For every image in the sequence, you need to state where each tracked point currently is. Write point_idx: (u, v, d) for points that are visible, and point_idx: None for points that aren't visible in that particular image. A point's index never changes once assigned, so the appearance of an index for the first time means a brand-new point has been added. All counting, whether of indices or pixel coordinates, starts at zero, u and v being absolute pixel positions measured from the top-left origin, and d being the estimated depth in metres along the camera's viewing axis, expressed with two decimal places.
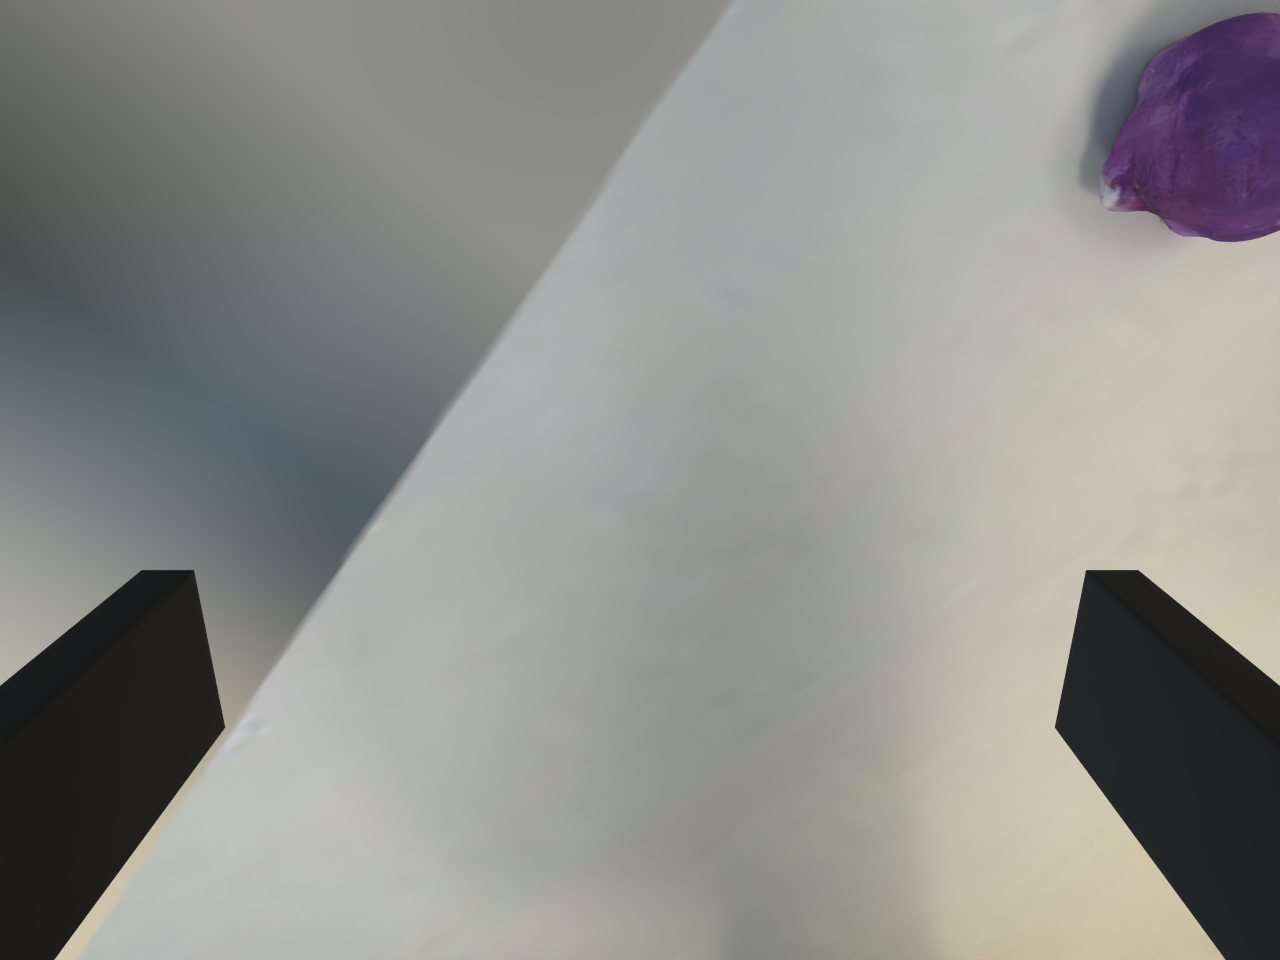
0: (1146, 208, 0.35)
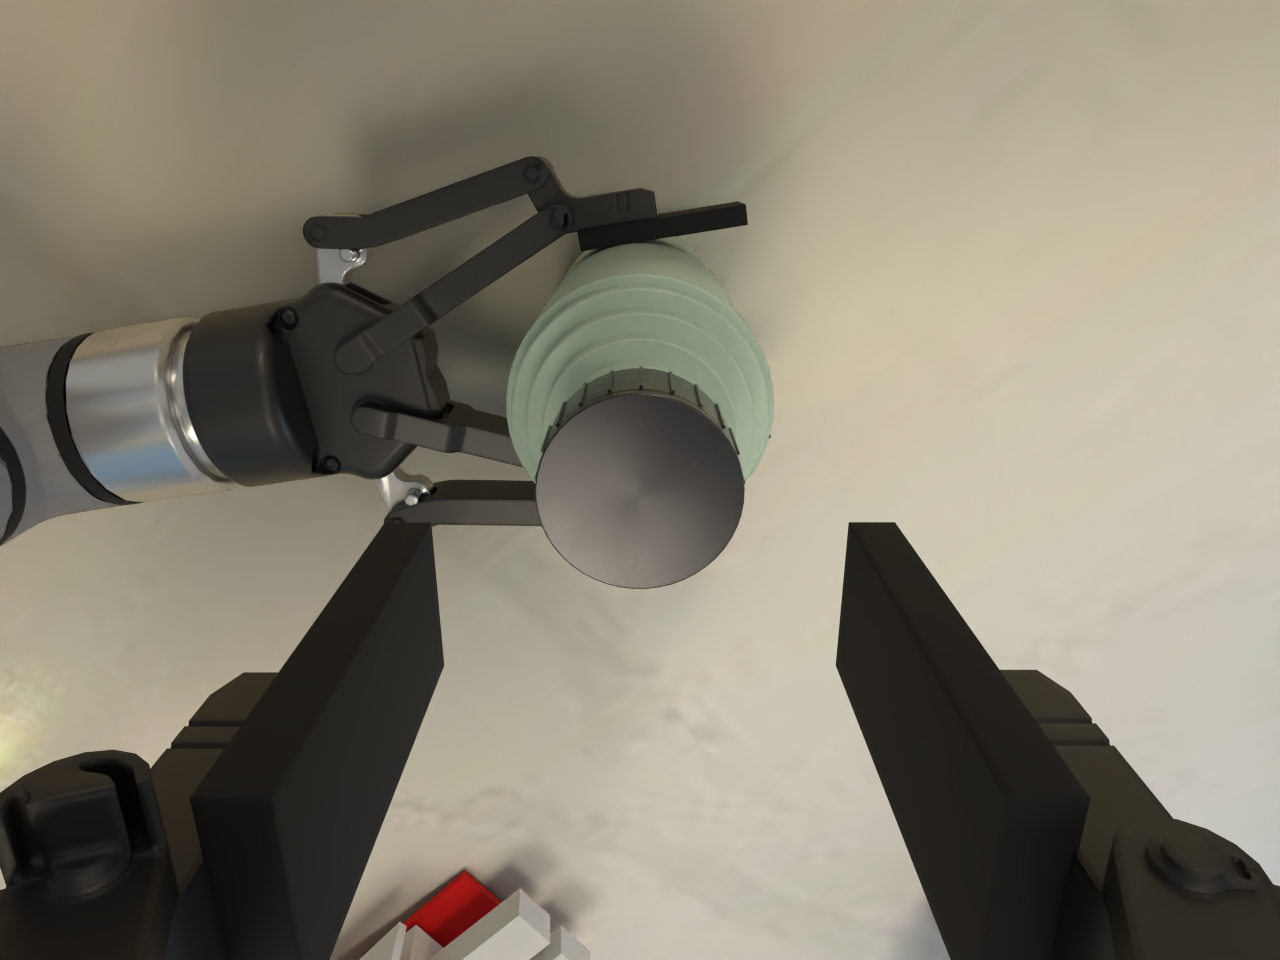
0: None
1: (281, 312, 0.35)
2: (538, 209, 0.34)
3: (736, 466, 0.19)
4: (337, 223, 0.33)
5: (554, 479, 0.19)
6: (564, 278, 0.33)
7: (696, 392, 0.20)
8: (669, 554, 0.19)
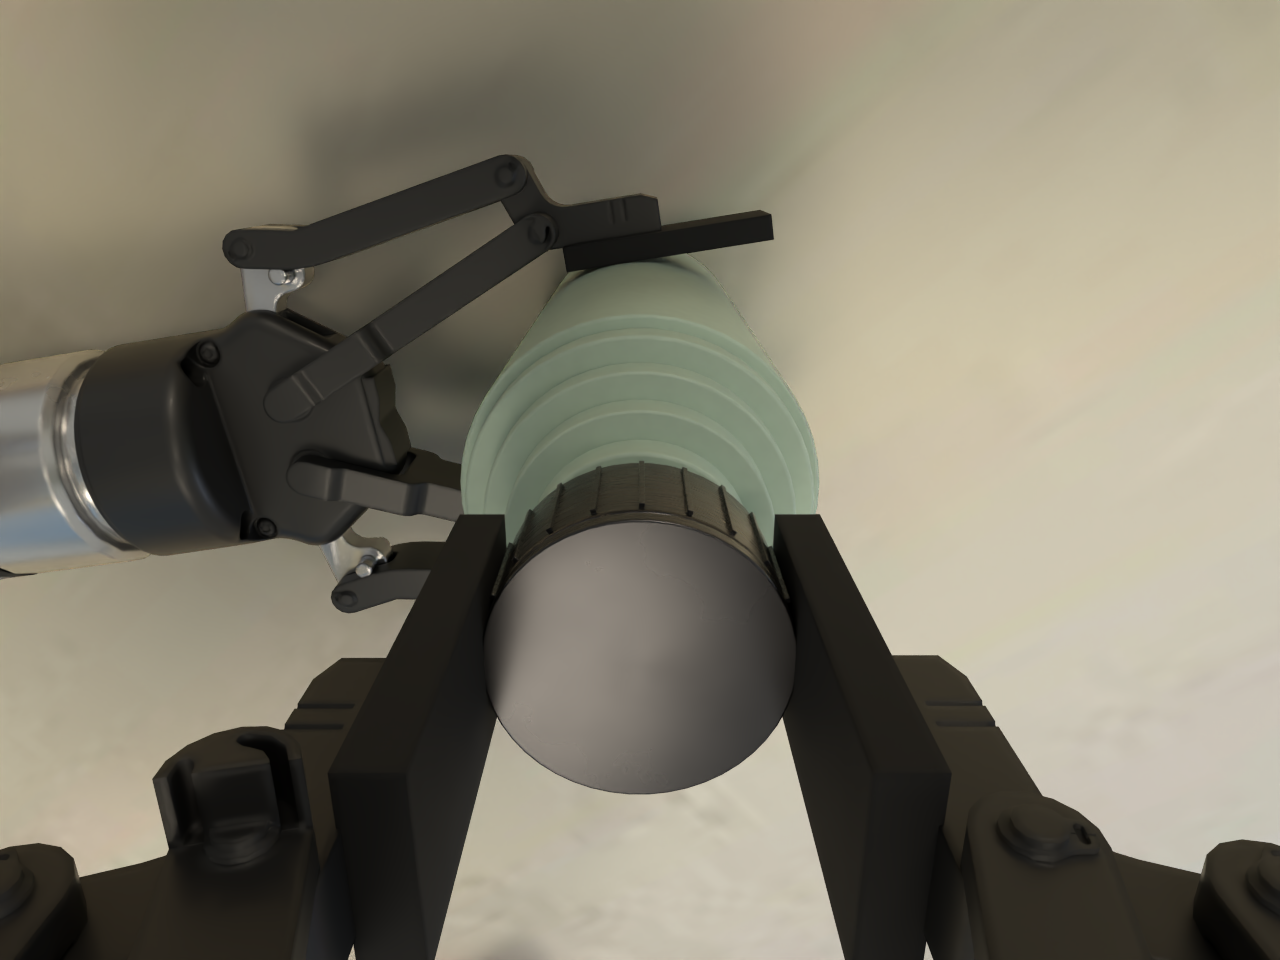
0: None
1: (199, 345, 0.28)
2: (514, 220, 0.27)
3: (786, 625, 0.12)
4: (265, 237, 0.27)
5: (509, 643, 0.12)
6: (546, 306, 0.27)
7: (723, 503, 0.13)
8: (684, 748, 0.13)
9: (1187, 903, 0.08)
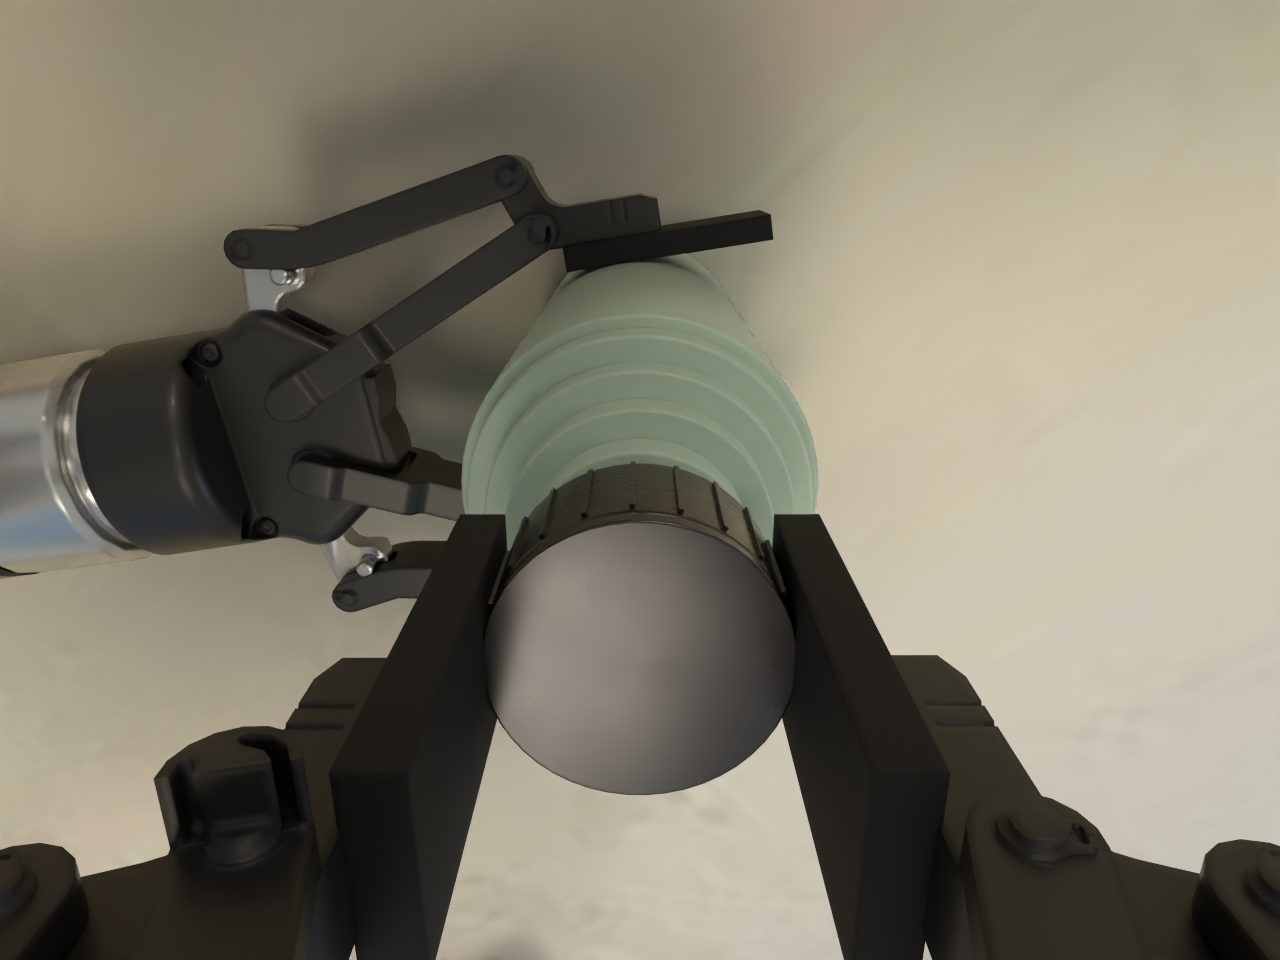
0: None
1: (201, 346, 0.28)
2: (514, 220, 0.27)
3: (592, 533, 0.12)
4: (266, 238, 0.27)
5: (612, 772, 0.13)
6: (546, 305, 0.27)
7: None
8: (740, 628, 0.12)
9: (1186, 903, 0.08)
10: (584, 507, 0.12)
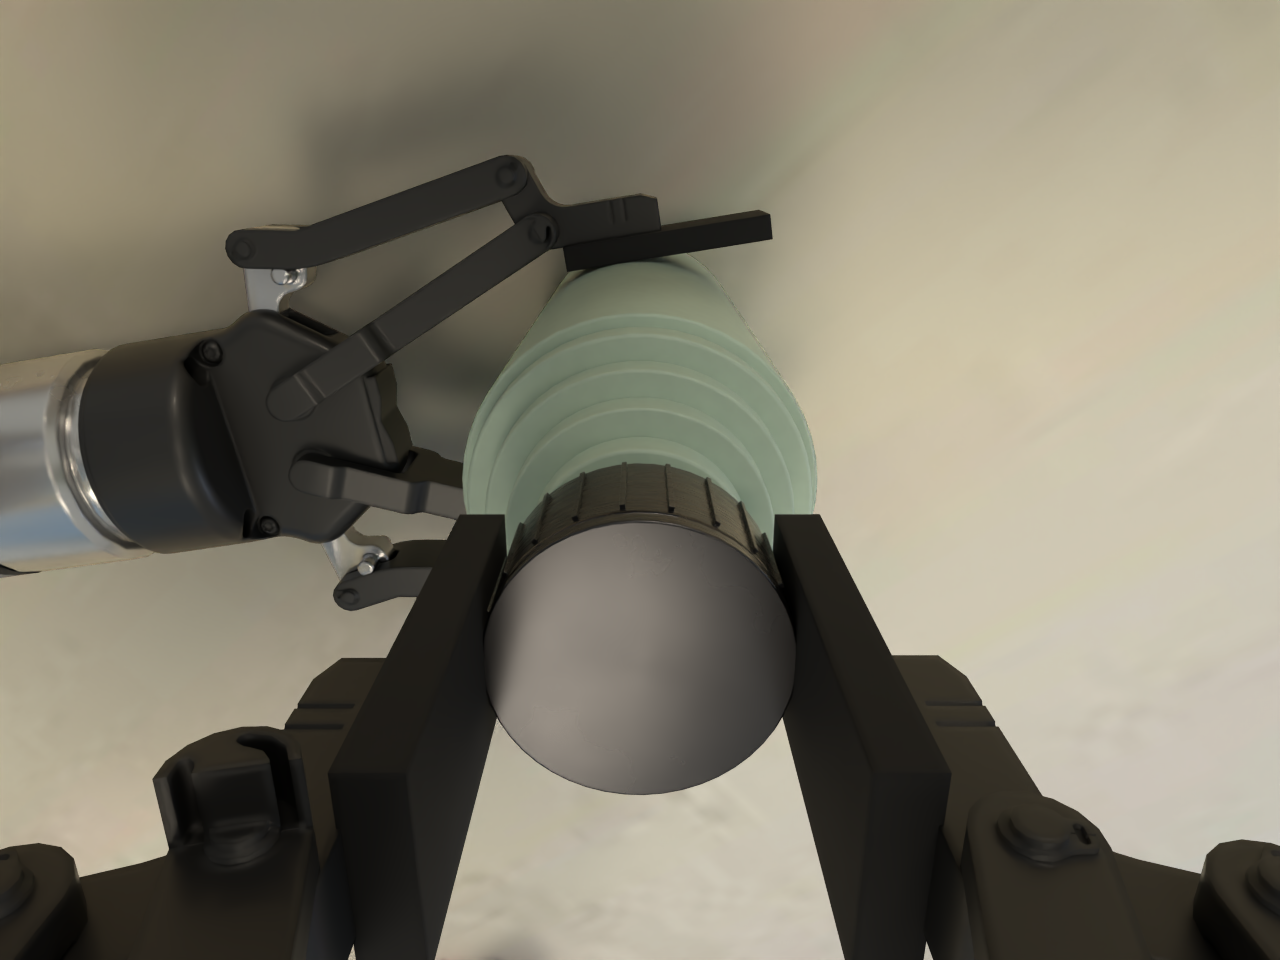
0: None
1: (203, 345, 0.28)
2: (515, 220, 0.27)
3: (495, 701, 0.13)
4: (267, 237, 0.27)
5: (765, 693, 0.13)
6: (547, 305, 0.27)
7: None
8: (594, 577, 0.12)
9: (1187, 903, 0.08)
10: None
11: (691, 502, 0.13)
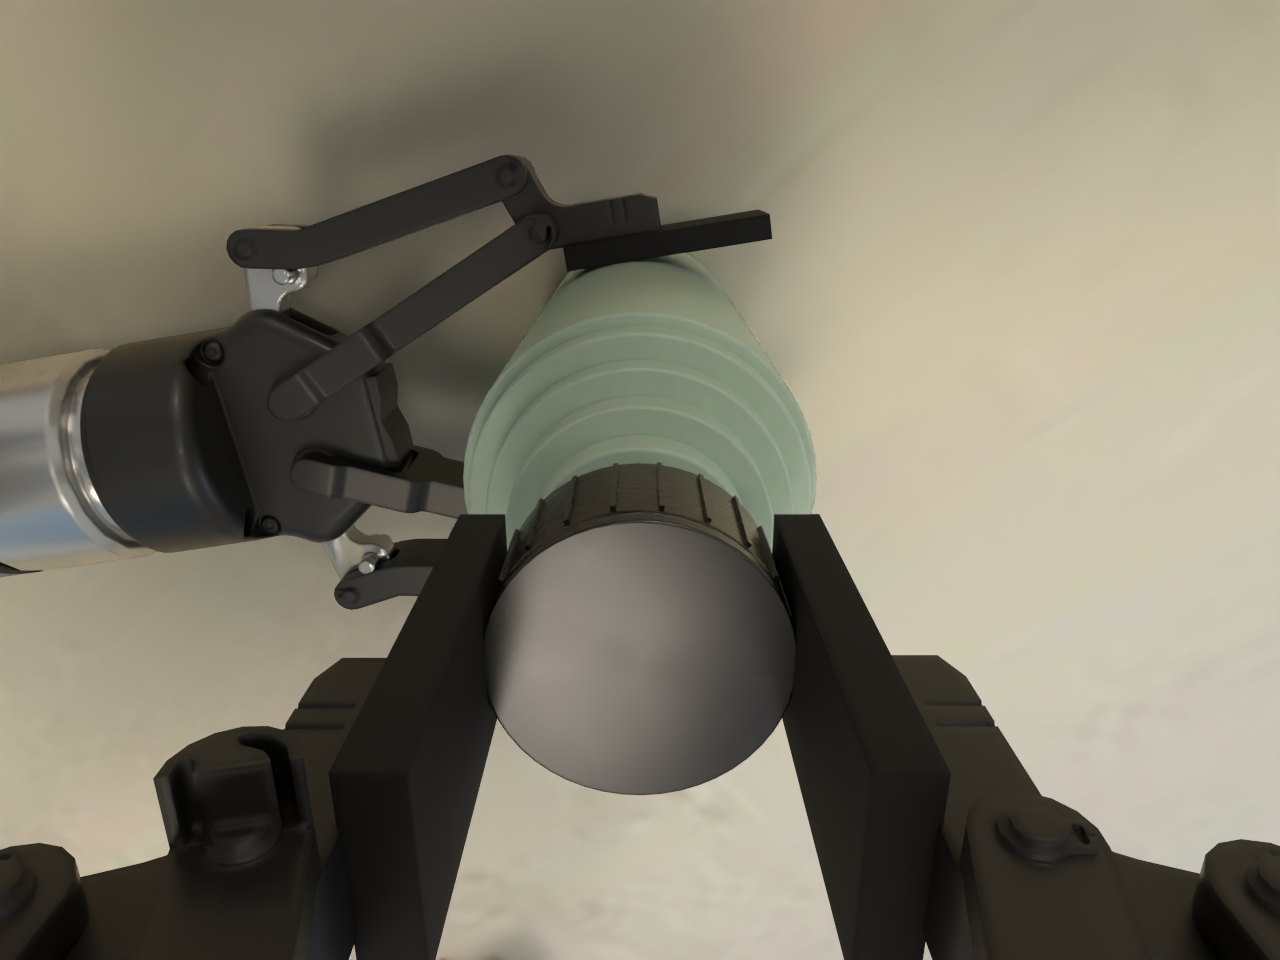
0: None
1: (204, 345, 0.29)
2: (515, 220, 0.27)
3: (676, 786, 0.13)
4: (268, 237, 0.27)
5: (673, 551, 0.12)
6: (547, 305, 0.27)
7: None
8: (541, 702, 0.13)
9: (1186, 902, 0.08)
10: None
11: (498, 586, 0.13)
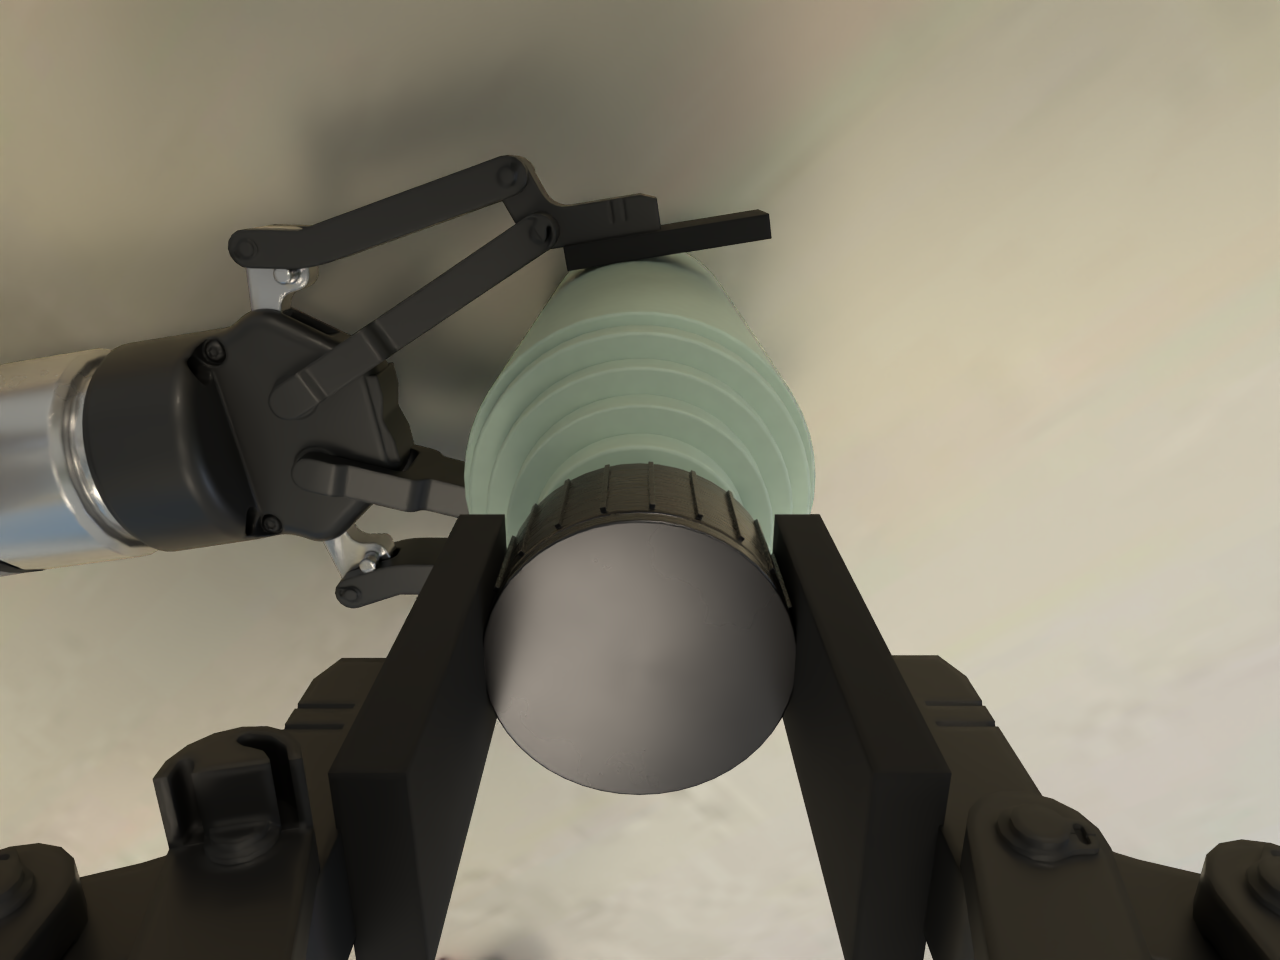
0: None
1: (205, 344, 0.29)
2: (515, 220, 0.27)
3: (789, 633, 0.12)
4: (270, 237, 0.27)
5: (511, 637, 0.12)
6: (547, 304, 0.27)
7: (731, 509, 0.13)
8: (678, 750, 0.13)
9: (1187, 903, 0.08)
10: (790, 603, 0.13)
11: None
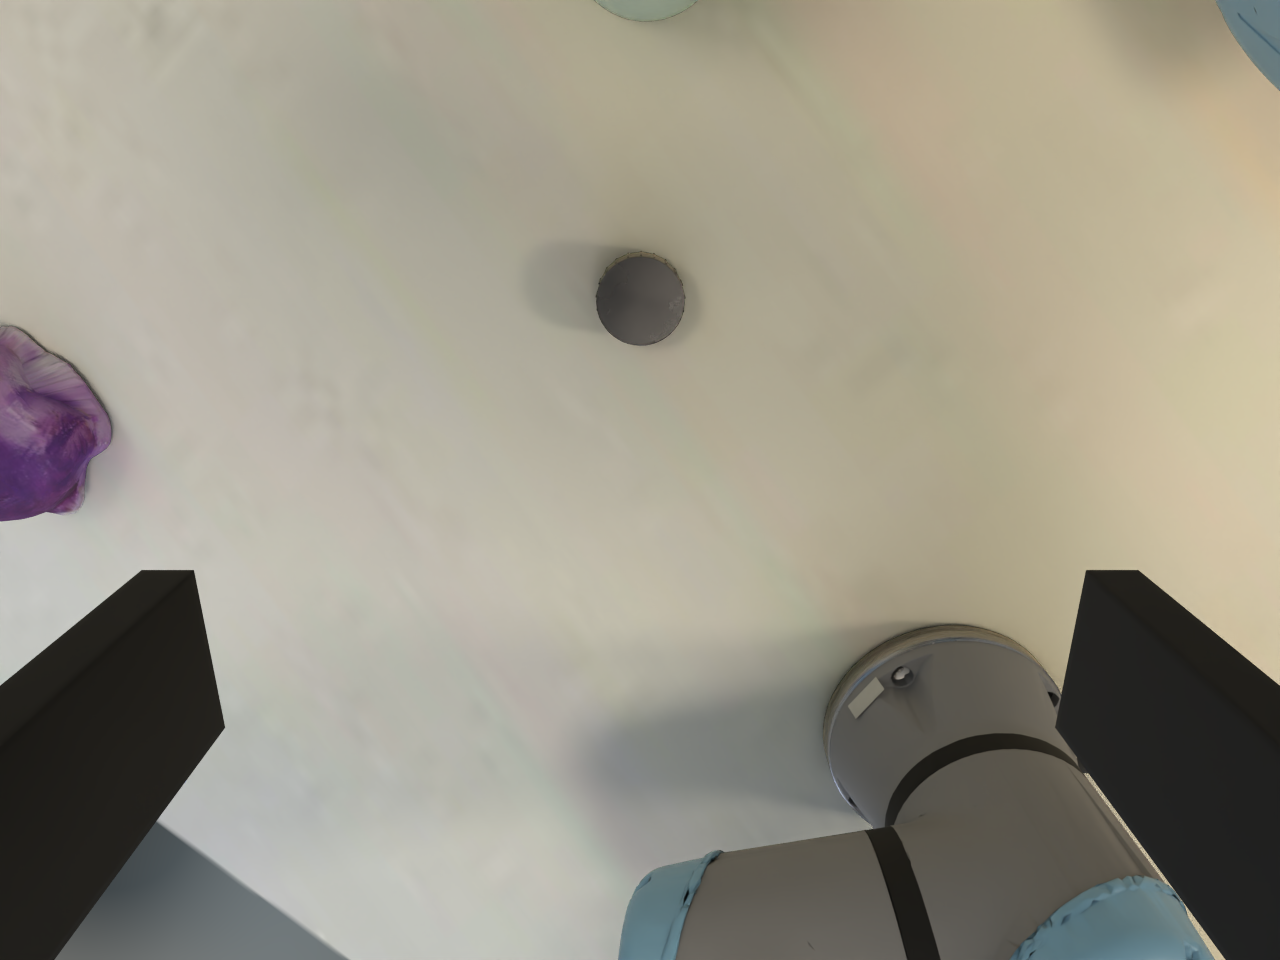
0: (68, 495, 0.48)
1: None
2: None
3: (630, 259, 0.44)
4: None
5: (630, 336, 0.46)
6: None
7: (606, 270, 0.46)
8: (668, 291, 0.45)
9: None
10: (628, 255, 0.45)
11: None
